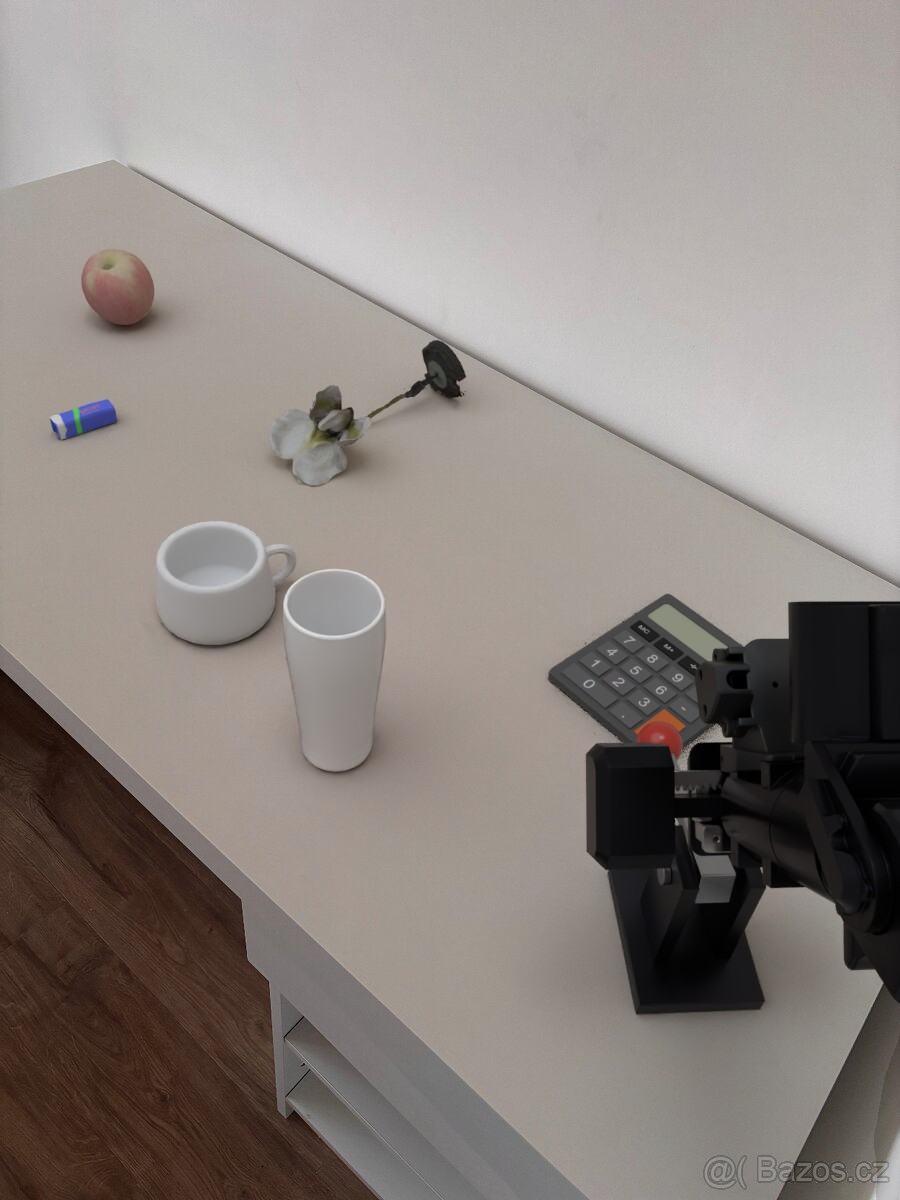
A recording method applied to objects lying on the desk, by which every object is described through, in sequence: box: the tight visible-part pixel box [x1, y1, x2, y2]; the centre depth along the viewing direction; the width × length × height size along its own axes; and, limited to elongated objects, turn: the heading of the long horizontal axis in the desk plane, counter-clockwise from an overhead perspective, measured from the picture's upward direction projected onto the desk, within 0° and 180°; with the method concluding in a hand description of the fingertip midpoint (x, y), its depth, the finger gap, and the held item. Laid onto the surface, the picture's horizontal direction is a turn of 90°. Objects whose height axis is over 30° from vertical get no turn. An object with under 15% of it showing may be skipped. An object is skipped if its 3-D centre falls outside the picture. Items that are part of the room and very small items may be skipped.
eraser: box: [49, 398, 117, 440], centre depth 105 cm, size 2×6×2 cm, turn 126°
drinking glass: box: [282, 568, 387, 772], centre depth 74 cm, size 7×7×15 cm
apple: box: [80, 248, 155, 326], centre depth 118 cm, size 8×8×8 cm
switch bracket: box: [607, 824, 767, 1015], centre depth 66 cm, size 10×8×10 cm
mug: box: [155, 520, 297, 646], centre depth 87 cm, size 12×10×6 cm
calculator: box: [547, 593, 743, 748], centre depth 86 cm, size 12×1×15 cm
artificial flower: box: [267, 339, 467, 487], centre depth 105 cm, size 9×22×10 cm, turn 131°
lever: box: [636, 721, 737, 904], centre depth 69 cm, size 15×3×3 cm, turn 4°
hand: (712, 779), depth 63 cm, fingers closed
